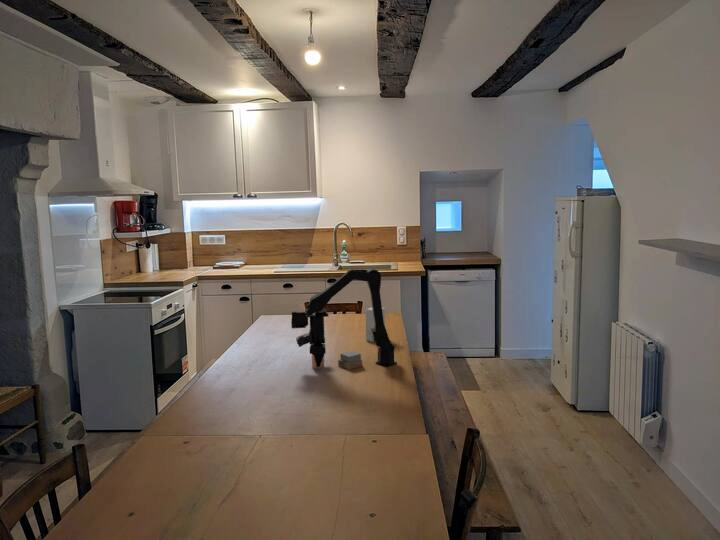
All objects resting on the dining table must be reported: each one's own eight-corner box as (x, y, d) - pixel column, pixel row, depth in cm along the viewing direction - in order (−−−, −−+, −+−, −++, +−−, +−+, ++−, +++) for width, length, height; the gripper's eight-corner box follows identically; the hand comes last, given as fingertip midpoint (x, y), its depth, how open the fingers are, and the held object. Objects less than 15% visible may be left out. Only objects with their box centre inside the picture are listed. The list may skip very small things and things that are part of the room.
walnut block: (362, 367, 221) (362, 359, 220) (349, 370, 216) (349, 363, 216) (351, 363, 226) (351, 356, 225) (338, 366, 221) (338, 359, 221)
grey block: (361, 359, 220) (360, 354, 220) (349, 362, 217) (348, 356, 216) (352, 356, 225) (352, 350, 225) (340, 359, 221) (340, 353, 221)
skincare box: (376, 343, 254) (375, 310, 252) (364, 341, 258) (364, 309, 256) (386, 339, 261) (385, 307, 259) (375, 337, 265) (374, 306, 263)
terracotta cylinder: (326, 367, 220) (326, 355, 219) (317, 370, 216) (316, 357, 216) (319, 364, 223) (319, 352, 223) (309, 367, 220) (309, 355, 219)
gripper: (297, 322, 226) (299, 358, 228) (296, 333, 208) (297, 373, 210) (324, 321, 227) (325, 357, 229) (325, 332, 209) (326, 371, 211)
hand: (318, 364), depth 220 cm, fingers closed on terracotta cylinder, 5 cm apart
